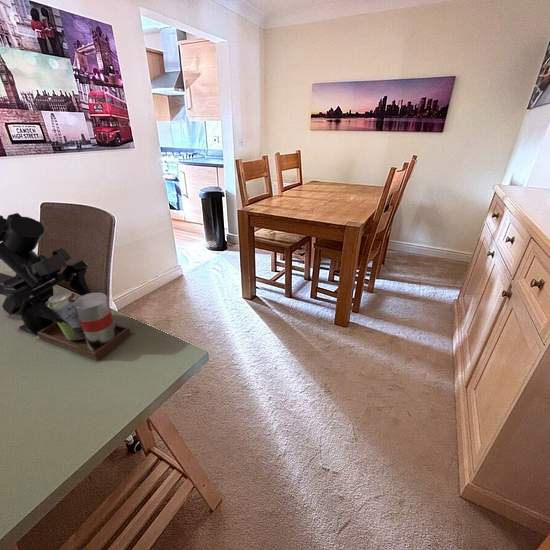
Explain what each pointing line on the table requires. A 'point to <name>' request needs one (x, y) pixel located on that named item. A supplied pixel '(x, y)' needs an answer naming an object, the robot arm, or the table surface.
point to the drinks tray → (81, 341)
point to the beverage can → (66, 314)
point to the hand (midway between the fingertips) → (77, 310)
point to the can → (95, 319)
